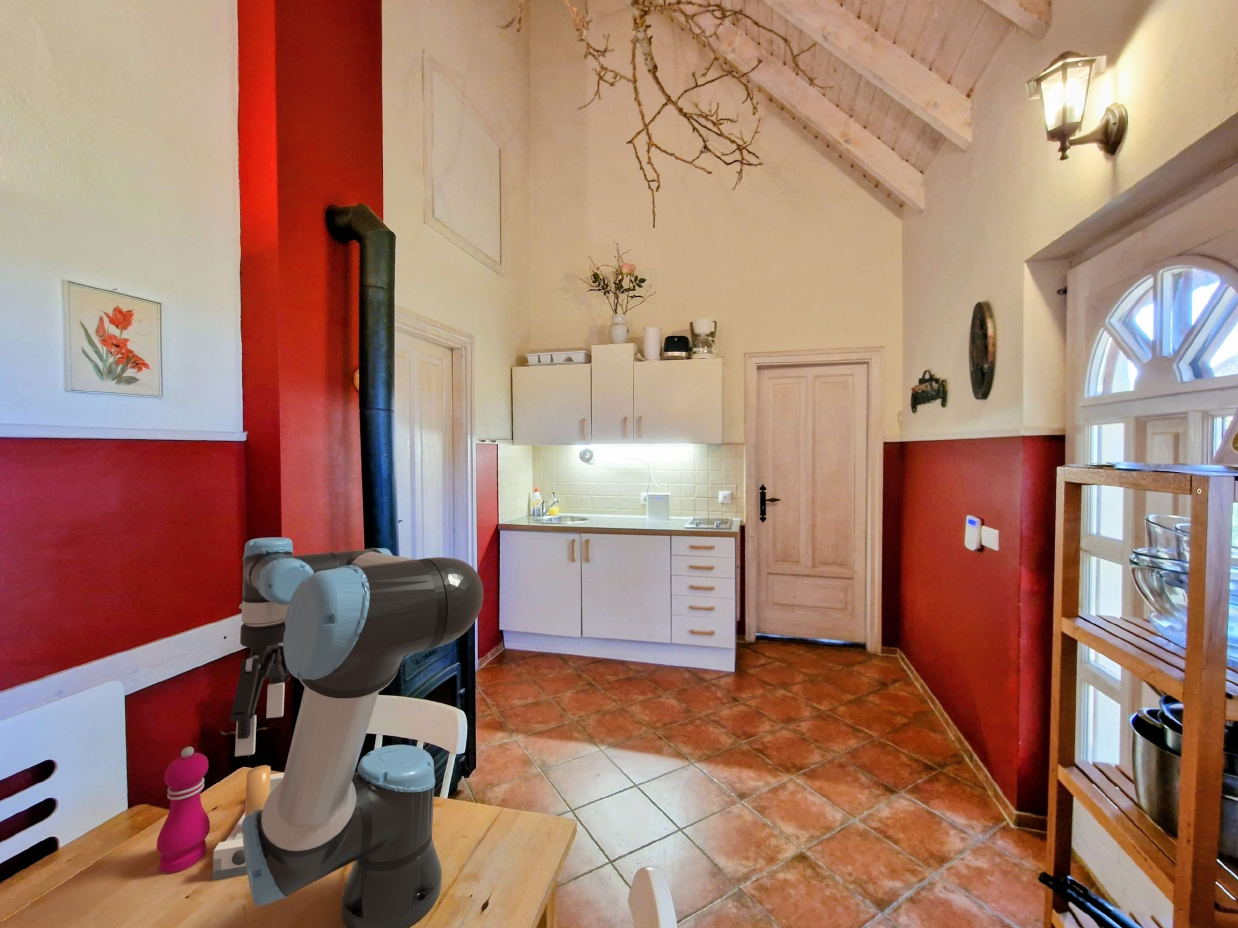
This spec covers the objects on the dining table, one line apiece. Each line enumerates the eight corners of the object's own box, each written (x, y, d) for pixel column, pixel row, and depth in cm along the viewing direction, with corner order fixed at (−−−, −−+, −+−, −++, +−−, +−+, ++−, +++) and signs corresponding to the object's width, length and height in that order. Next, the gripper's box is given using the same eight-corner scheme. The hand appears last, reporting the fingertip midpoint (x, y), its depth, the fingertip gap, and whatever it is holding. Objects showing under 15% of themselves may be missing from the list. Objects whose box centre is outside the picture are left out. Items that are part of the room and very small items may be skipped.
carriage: (263, 849, 90) (266, 780, 90) (232, 854, 88) (235, 784, 89) (278, 823, 97) (280, 758, 97) (249, 827, 95) (251, 761, 95)
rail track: (265, 872, 87) (267, 843, 87) (211, 881, 85) (212, 851, 85) (307, 791, 109) (308, 768, 109) (265, 797, 107) (265, 773, 107)
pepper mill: (177, 879, 85) (182, 761, 85) (144, 871, 86) (149, 755, 87) (219, 848, 92) (223, 739, 92) (187, 841, 94) (192, 734, 94)
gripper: (269, 603, 105) (264, 705, 104) (208, 644, 81) (202, 776, 80) (309, 602, 107) (305, 701, 107) (261, 641, 83) (256, 770, 83)
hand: (261, 734), depth 94 cm, fingers open, 13 cm apart
